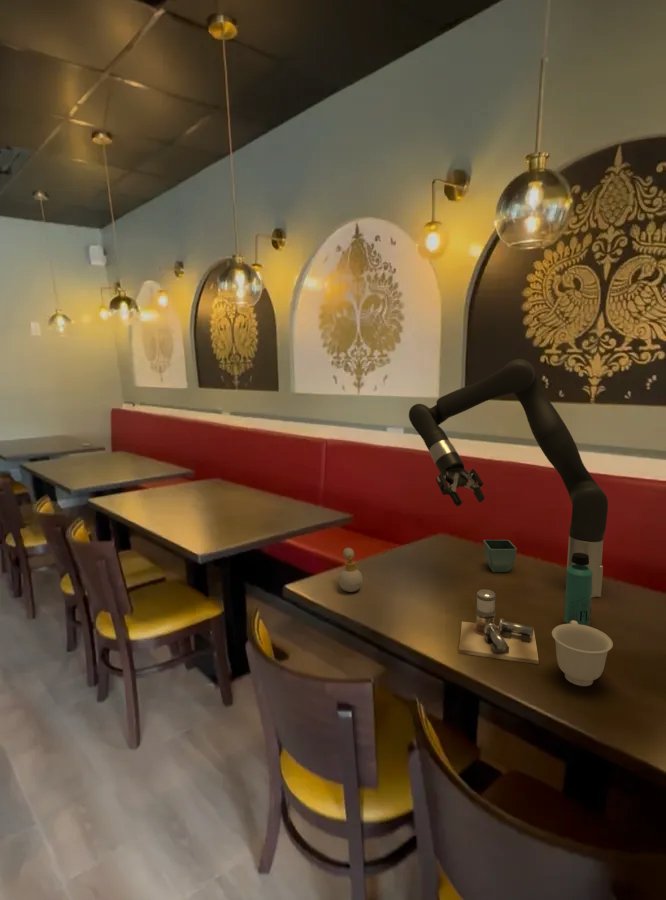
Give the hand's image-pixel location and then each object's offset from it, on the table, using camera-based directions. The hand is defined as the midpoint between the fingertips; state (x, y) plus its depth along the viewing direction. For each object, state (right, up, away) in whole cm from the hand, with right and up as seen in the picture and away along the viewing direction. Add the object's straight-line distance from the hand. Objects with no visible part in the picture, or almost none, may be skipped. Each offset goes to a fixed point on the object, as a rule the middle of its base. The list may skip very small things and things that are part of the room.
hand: (471, 502), depth 152 cm
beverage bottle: (+24, -31, -14) cm, 42 cm away
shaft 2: (+6, -32, -21) cm, 38 cm away
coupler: (-1, -31, -17) cm, 36 cm away
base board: (+1, -33, -22) cm, 40 cm away
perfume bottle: (-35, -28, +10) cm, 46 cm away
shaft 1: (-1, -32, -25) cm, 41 cm away
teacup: (+14, -35, -35) cm, 52 cm away
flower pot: (+15, -25, +23) cm, 37 cm away
